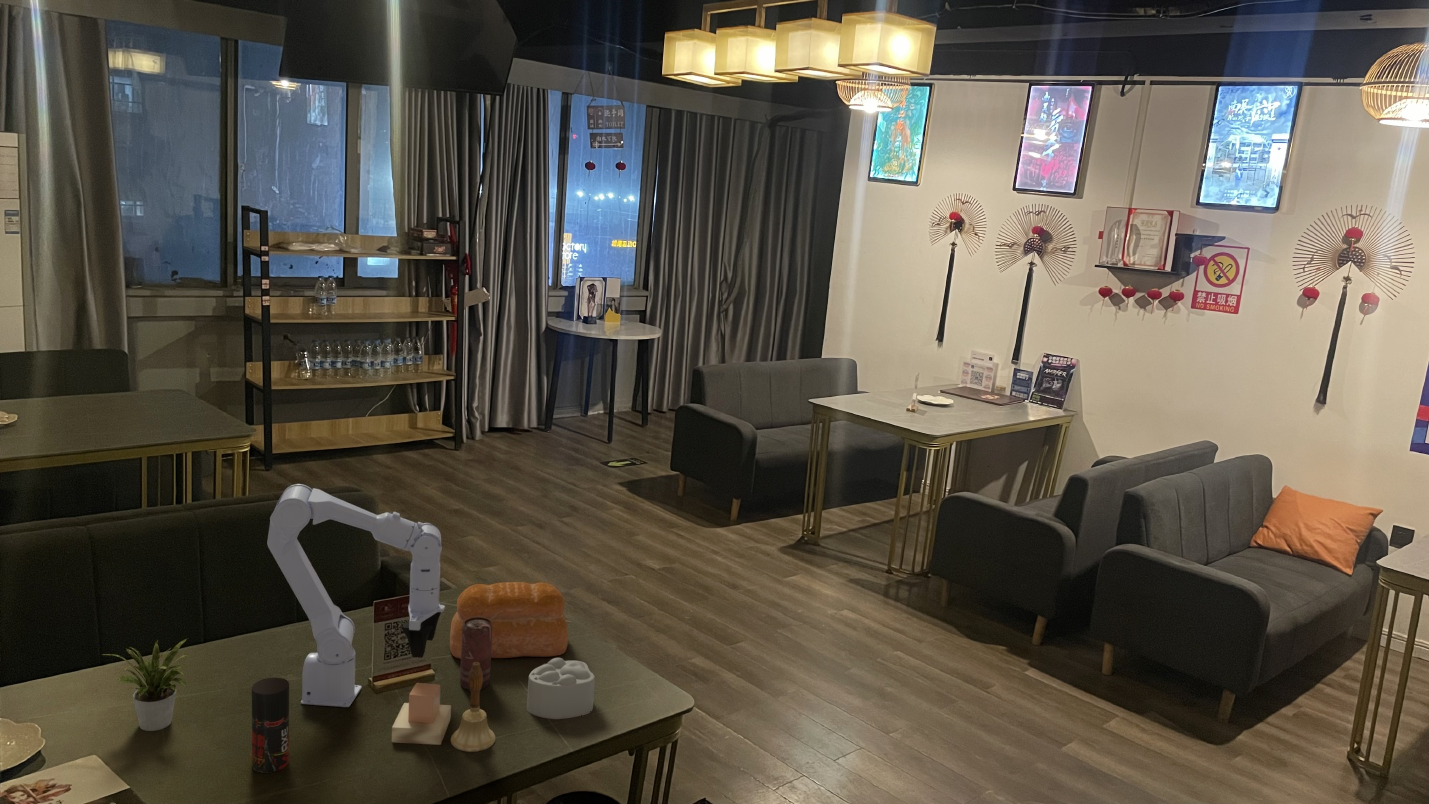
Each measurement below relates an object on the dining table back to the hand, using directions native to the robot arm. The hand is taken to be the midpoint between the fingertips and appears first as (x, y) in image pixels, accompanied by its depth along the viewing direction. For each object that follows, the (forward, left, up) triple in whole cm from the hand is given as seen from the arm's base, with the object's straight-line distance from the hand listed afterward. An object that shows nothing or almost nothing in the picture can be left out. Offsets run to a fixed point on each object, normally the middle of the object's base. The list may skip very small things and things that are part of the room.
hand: (422, 647), depth 200 cm
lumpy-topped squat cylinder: (+28, -1, -10) cm, 30 cm away
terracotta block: (+4, -14, -7) cm, 16 cm away
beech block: (+4, -14, -10) cm, 18 cm away
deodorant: (-19, -28, -10) cm, 35 cm away
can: (+10, +5, -10) cm, 15 cm away
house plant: (-45, -19, -10) cm, 50 cm away
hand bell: (+14, -16, -10) cm, 24 cm away
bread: (+14, +23, -10) cm, 29 cm away
